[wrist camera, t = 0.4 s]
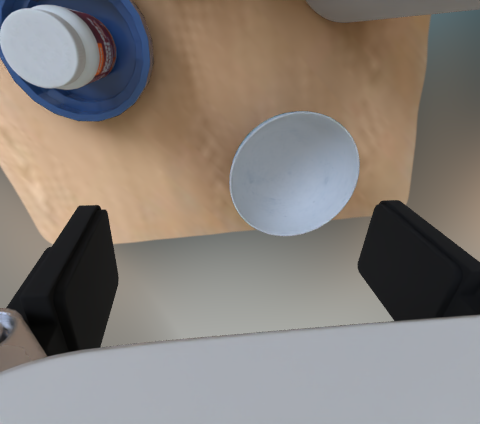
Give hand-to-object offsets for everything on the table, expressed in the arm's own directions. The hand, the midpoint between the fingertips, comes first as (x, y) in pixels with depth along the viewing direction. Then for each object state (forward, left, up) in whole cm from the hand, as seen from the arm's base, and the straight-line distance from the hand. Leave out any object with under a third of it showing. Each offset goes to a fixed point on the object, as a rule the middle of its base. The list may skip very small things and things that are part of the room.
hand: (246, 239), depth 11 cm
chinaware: (+7, +10, -30) cm, 32 cm away
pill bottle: (-5, -12, -29) cm, 32 cm away
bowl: (-5, -12, -30) cm, 32 cm away
